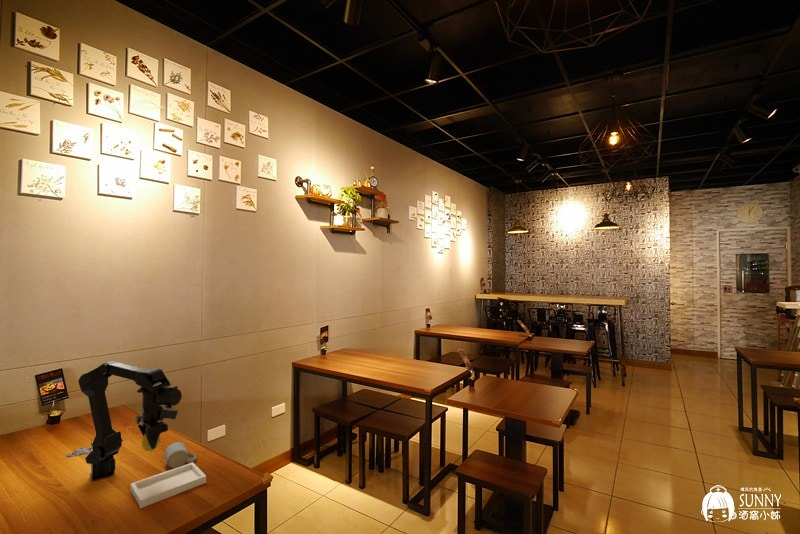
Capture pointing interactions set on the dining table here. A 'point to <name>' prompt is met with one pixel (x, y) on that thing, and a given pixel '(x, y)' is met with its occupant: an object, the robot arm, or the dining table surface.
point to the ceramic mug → (178, 455)
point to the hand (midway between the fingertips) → (151, 446)
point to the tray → (167, 484)
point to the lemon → (146, 444)
